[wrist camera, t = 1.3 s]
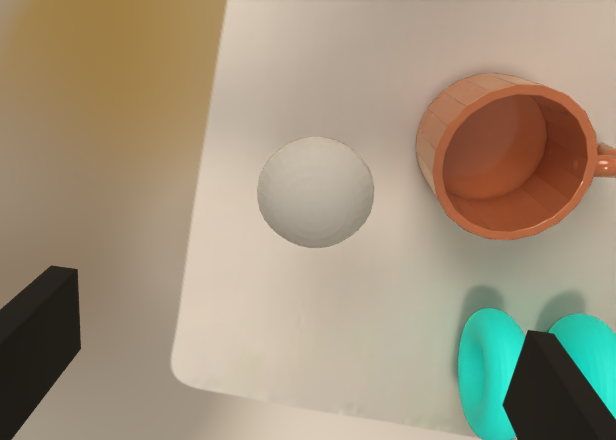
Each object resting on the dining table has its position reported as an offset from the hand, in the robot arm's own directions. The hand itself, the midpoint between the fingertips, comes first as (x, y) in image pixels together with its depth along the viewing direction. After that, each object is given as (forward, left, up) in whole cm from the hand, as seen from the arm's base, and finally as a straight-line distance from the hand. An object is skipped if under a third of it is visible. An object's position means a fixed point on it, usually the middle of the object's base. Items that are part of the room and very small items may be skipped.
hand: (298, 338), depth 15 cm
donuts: (-1, +24, -25) cm, 35 cm away
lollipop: (0, 0, -25) cm, 25 cm away
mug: (-10, +9, -25) cm, 29 cm away
